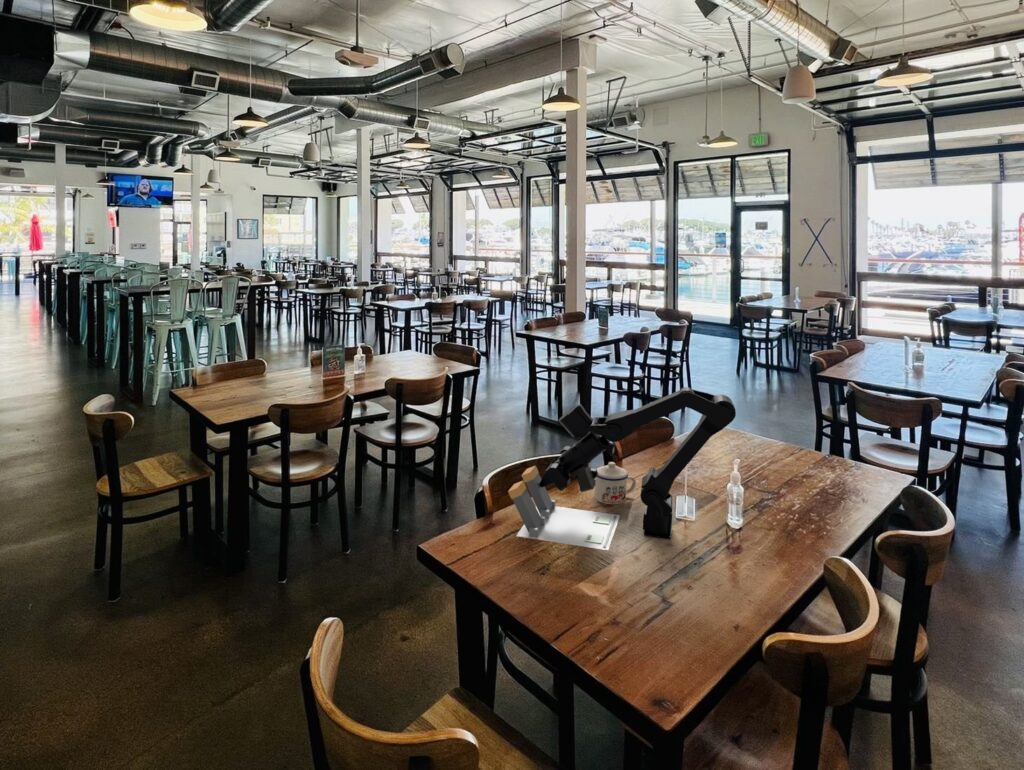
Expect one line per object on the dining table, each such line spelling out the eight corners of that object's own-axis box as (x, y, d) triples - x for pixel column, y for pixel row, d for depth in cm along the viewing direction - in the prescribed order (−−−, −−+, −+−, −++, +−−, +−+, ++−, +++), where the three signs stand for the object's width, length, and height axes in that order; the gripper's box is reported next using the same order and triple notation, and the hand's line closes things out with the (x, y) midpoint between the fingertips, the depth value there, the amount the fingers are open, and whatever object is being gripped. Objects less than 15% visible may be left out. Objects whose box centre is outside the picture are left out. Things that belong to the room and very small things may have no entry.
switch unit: (619, 520, 166) (620, 508, 165) (607, 556, 148) (608, 542, 147) (537, 509, 172) (537, 496, 172) (516, 541, 154) (516, 528, 153)
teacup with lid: (600, 511, 172) (602, 469, 169) (588, 497, 181) (590, 458, 178) (641, 507, 175) (644, 466, 172) (627, 494, 184) (629, 455, 181)
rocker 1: (553, 503, 169) (535, 465, 168) (548, 511, 164) (530, 472, 163) (544, 506, 170) (526, 468, 169) (539, 514, 165) (521, 475, 164)
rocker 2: (542, 520, 158) (523, 480, 158) (537, 529, 154) (517, 488, 153) (533, 524, 159) (514, 483, 159) (528, 532, 154) (507, 491, 154)
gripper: (600, 488, 151) (552, 524, 157) (612, 463, 169) (568, 496, 174) (569, 452, 151) (522, 489, 157) (584, 430, 169) (541, 464, 174)
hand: (540, 485), depth 166 cm, fingers closed, pressing on rocker 1
